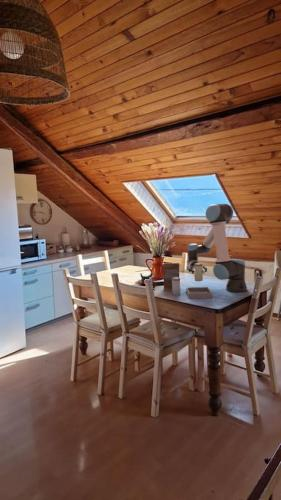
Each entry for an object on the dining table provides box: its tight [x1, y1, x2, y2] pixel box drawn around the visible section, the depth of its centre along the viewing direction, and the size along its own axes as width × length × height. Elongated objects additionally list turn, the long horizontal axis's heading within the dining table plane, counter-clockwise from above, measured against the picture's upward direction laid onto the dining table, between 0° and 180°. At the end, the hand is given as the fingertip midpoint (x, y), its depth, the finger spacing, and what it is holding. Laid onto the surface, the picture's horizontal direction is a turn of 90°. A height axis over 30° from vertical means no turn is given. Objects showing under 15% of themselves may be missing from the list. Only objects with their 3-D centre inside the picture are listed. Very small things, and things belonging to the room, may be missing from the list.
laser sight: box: [139, 271, 156, 289], centre depth 280 cm, size 10×22×10 cm, turn 15°
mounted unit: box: [162, 262, 180, 292], centre depth 267 cm, size 8×12×20 cm, turn 90°
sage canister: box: [194, 262, 204, 282], centre depth 248 cm, size 6×6×12 cm
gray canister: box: [171, 277, 181, 296], centre depth 253 cm, size 6×6×12 cm
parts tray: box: [185, 286, 213, 299], centre depth 251 cm, size 16×16×4 cm
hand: (199, 272), depth 243 cm, fingers closed on sage canister, 5 cm apart
